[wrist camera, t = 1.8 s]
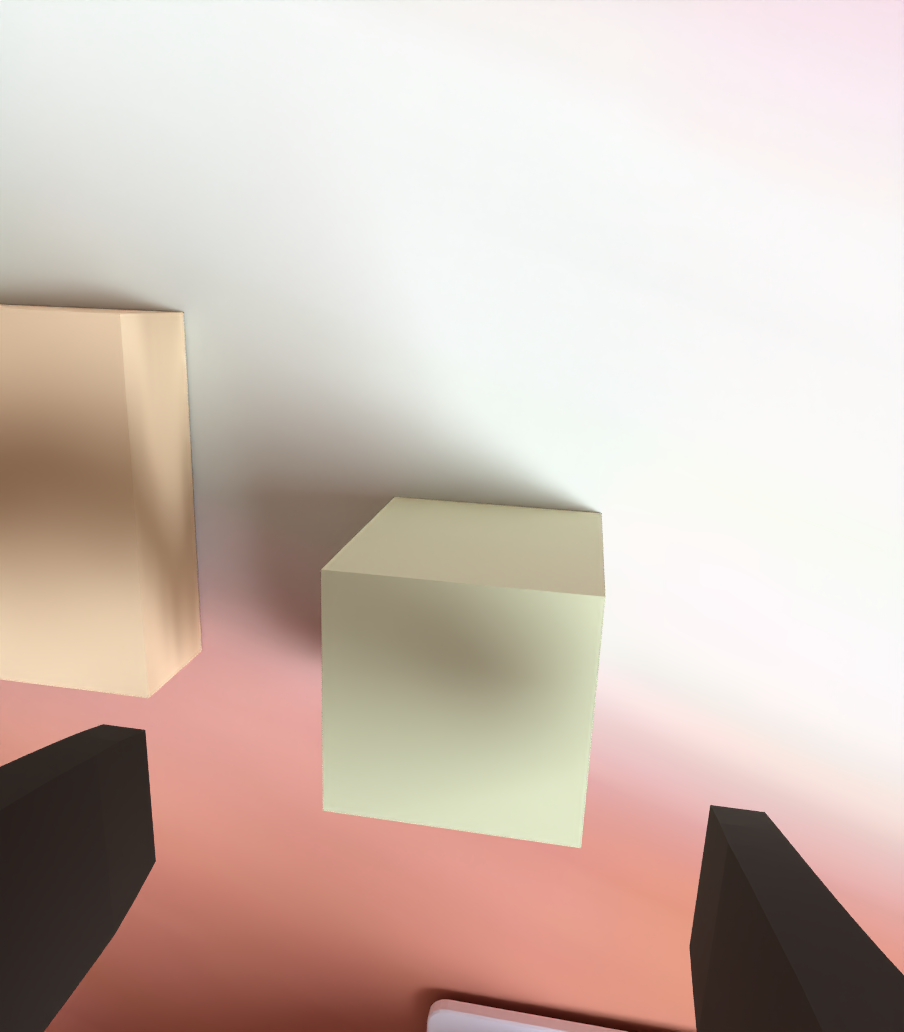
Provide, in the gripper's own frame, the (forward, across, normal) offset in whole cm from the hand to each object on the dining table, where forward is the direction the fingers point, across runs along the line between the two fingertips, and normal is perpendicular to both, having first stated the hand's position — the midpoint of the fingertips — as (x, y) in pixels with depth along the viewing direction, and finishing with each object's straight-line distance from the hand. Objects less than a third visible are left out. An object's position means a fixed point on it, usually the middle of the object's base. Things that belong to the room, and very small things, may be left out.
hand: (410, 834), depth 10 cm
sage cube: (+8, 0, 0) cm, 8 cm away
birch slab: (+8, +11, -2) cm, 14 cm away
